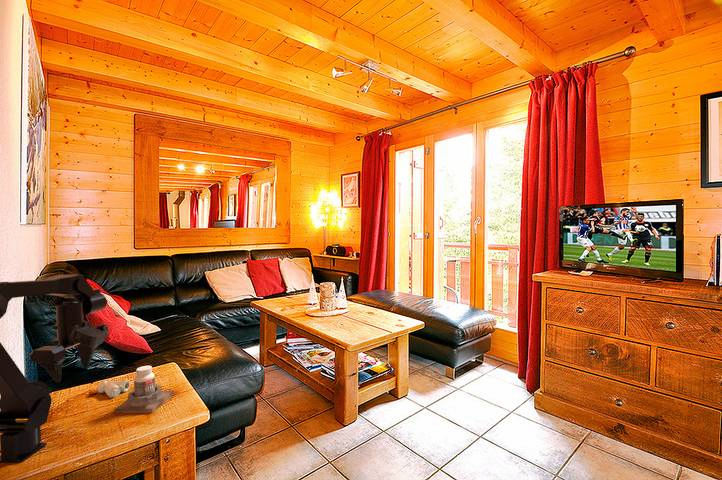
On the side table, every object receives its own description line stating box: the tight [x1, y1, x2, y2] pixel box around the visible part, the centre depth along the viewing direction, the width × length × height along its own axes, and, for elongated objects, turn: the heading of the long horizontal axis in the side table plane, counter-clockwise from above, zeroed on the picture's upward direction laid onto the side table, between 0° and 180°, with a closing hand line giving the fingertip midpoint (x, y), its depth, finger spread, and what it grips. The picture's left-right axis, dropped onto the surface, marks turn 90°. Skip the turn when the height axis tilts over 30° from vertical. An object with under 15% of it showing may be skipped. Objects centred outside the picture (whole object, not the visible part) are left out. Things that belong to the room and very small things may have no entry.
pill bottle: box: [133, 365, 156, 397], centre depth 104 cm, size 5×5×10 cm
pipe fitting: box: [97, 379, 131, 399], centre depth 111 cm, size 8×4×7 cm
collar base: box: [113, 384, 174, 414], centre depth 104 cm, size 11×11×4 cm
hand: (72, 374), depth 96 cm, fingers open, 9 cm apart
